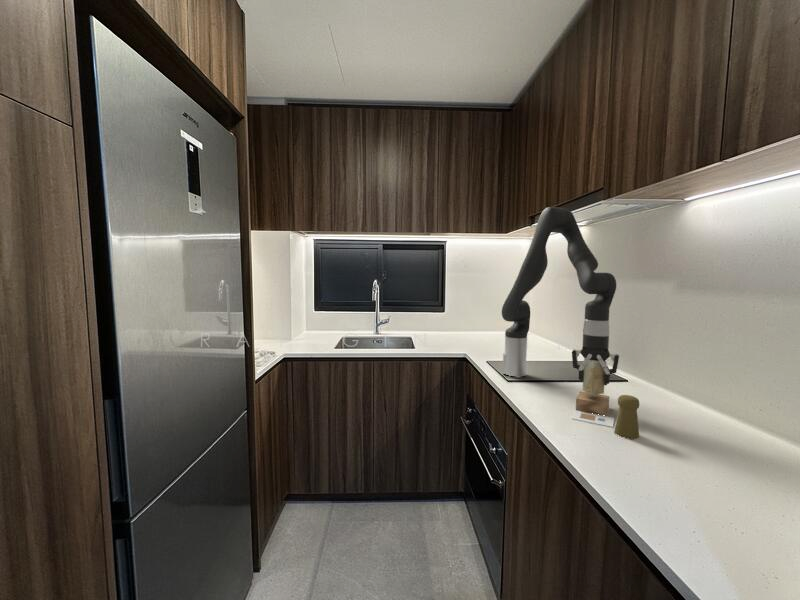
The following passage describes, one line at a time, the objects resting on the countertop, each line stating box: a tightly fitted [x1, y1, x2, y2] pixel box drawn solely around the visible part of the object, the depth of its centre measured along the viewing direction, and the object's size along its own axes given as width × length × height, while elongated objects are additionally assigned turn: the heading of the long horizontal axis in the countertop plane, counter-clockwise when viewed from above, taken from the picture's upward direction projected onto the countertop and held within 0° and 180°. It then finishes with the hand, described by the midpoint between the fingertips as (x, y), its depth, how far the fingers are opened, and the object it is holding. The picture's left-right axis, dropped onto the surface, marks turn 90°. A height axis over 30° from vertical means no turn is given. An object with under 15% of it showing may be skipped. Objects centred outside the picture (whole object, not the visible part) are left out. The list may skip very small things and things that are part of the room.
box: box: [581, 359, 607, 395], centre depth 119 cm, size 5×4×11 cm
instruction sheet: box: [571, 409, 615, 428], centre depth 112 cm, size 11×8×1 cm
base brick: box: [575, 390, 610, 416], centre depth 120 cm, size 9×9×4 cm
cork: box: [613, 394, 641, 440], centre depth 101 cm, size 6×6×11 cm
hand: (593, 382), depth 119 cm, fingers closed on box, 6 cm apart
